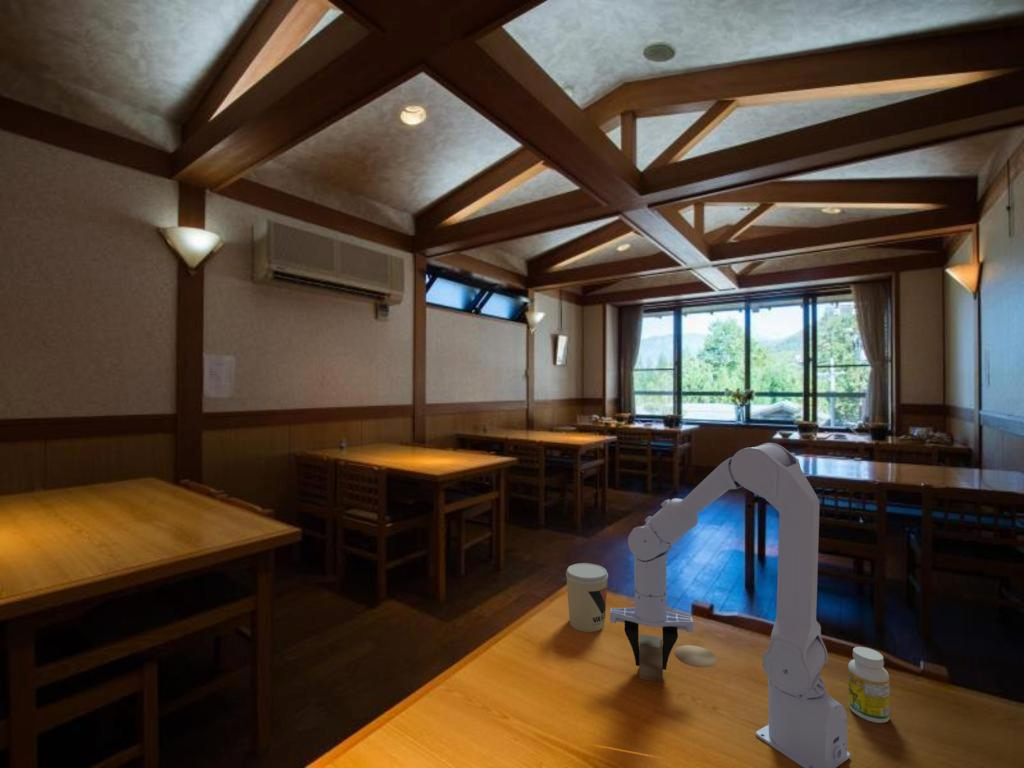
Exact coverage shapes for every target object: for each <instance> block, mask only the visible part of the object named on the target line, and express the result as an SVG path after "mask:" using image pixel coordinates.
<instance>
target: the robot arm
mask: <svg viewBox="0 0 1024 768" xmlns="http://www.w3.org/2000/svg"><path fill="white" fill-rule="evenodd" d="M740 488H744V489H746V490H748V491H750V492H752V493H754V494H756V496H759V497H761V498H763V499H765V500H766V502H768V503H769V504H770V505H771V506H772V507H773V508H774V509H775V510H776V511H777V512H778V514H779V517H778V518H779V520H778V546H777V547H778V549H777V551H778V553H777V580H776V581H777V586H776V587H777V590H776V617H775V621H774V624H773V627H772V630H771V634H770V643H769V647H768V649H767V650H766V651H765V652H764V655H763V657H762V666H763V671H764V673H765V675H766V677H767V679H768V685H767V686H768V692H767V693H768V696H767V697H768V724H767V725H765V726H764V727H762V728H760V729H758V730H757V731H755V736H756V737H757V738H759V739H760V740H762V741H763V742H765V743H766V744H767V745H768V746H771V747H772V748H774V749H775V750H776V751H778V752H780V753H781V754H782V755H784V756H785V757H787V758H789V759H790V760H791V761H793V762H795V763H796V764H797V765H799V766H800V767H802V768H838V767H839V766H840V765H842V764H843V763H845V761H846V762H847V761H848V759H849V758H851V753H850V752H849V751H848V715H847V711H846V708H845V707H844V705H842V703H839V702H838V701H837V700H835V699H834V698H833V697H832V696H831V695H830V694H829V693H828V692H827V690H826V688H825V686H826V685H825V684H824V681H823V677H822V675H821V673H820V671H821V669H822V668H823V667H824V666H826V663H827V662H828V651H827V648H826V645H825V642H824V641H823V638H822V631H821V630H822V627H821V625H820V622H819V621H817V603H818V599H817V598H818V574H819V573H818V569H819V568H818V565H819V541H820V540H819V538H820V536H819V535H820V533H819V532H820V504H821V503H820V500H819V498H818V497H819V496H817V494H816V492H815V490H814V488H813V487H812V485H811V484H810V482H809V480H808V479H807V477H806V475H805V473H804V471H803V470H802V468H801V465H800V460H799V459H798V458H797V457H796V456H795V455H794V454H792V453H791V452H790V451H789V450H787V448H785V447H783V446H782V445H780V444H778V443H775V442H774V443H773V442H766V443H765V442H764V443H762V444H759V445H757V446H754V447H753V446H752V447H745V448H742V449H740V450H738V451H737V452H736V453H735V454H734V455H733V456H732V457H729V458H727V459H726V460H724V461H722V462H721V463H720V464H719V465H718V466H717V467H716V468H714V469H713V471H711V472H710V473H709V474H708V475H707V476H706V477H705V478H704V479H703V480H702V481H701V482H700V483H699V484H698V485H697V486H695V488H694V489H692V490H691V491H690V493H688V494H687V496H686V497H684V498H676V497H675V498H672V499H666V500H664V501H663V502H662V503H660V505H661V508H660V509H659V510H658V511H657V512H656V513H655V514H653V516H652V515H649V516H648V517H646V518H645V519H644V521H645V524H644V525H642V526H636V527H634V528H633V529H632V530H631V532H630V533H629V535H628V538H627V545H628V547H629V548H628V549H629V550H630V552H631V554H632V555H633V560H634V562H633V564H634V567H633V568H634V569H633V570H634V571H633V573H634V575H633V576H634V577H633V578H634V580H633V581H634V582H633V583H634V585H633V586H634V588H633V589H634V607H622V608H621V607H610V611H609V623H612V624H616V623H624V628H623V629H624V633H625V635H626V637H627V640H628V641H629V645H630V646H631V650H632V653H633V656H634V662H635V666H637V667H639V625H642V626H645V627H650V628H658V627H659V628H662V631H661V632H662V648H663V671H666V670H667V667H668V666H667V665H668V662H669V661H668V660H669V657H670V655H671V653H672V649H673V647H674V646H675V644H676V643H677V641H678V637H679V635H678V630H681V631H683V630H684V631H686V632H687V633H692V634H693V633H694V620H693V617H692V616H686V615H684V614H683V615H682V614H678V613H674V612H671V611H668V610H667V609H668V607H667V606H668V603H667V602H668V601H667V598H668V597H667V596H668V595H667V593H668V592H667V587H668V586H667V583H668V582H667V560H668V554H669V553H668V552H670V551H671V549H672V548H673V545H674V544H675V543H677V542H678V541H679V540H680V539H682V538H683V537H684V536H685V535H686V534H688V533H689V532H690V531H691V530H692V529H694V528H695V527H697V524H698V522H699V520H698V518H699V516H698V515H699V513H700V512H702V511H703V510H704V509H706V508H707V507H708V506H710V505H711V504H712V503H713V502H715V501H716V500H718V499H719V498H720V497H721V496H722V495H724V494H725V493H726V492H728V491H729V490H737V489H740Z"/></svg>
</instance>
